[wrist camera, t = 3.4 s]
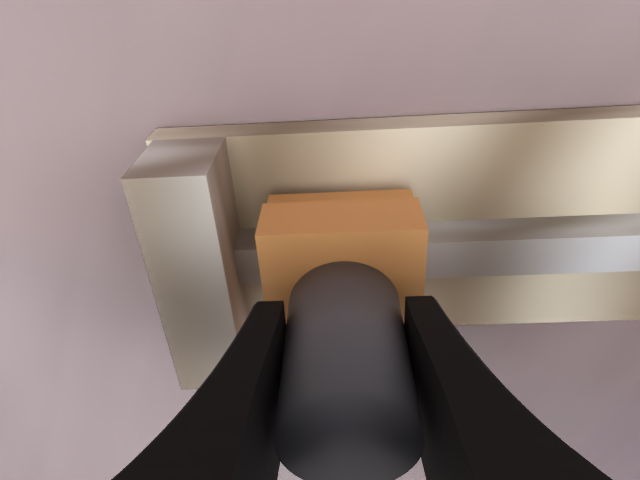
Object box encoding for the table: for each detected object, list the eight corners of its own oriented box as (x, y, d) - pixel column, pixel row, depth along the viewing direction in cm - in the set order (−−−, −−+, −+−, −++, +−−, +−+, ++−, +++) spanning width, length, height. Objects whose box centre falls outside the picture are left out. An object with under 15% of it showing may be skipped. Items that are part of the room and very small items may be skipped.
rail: (877, 93, 14) (1028, 139, 11) (770, 296, 17) (861, 371, 14) (156, 128, 15) (111, 179, 12) (199, 314, 18) (174, 389, 15)
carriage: (411, 177, 14) (469, 355, 8) (406, 302, 16) (448, 510, 10) (267, 183, 14) (223, 362, 8) (282, 306, 16) (256, 513, 11)
